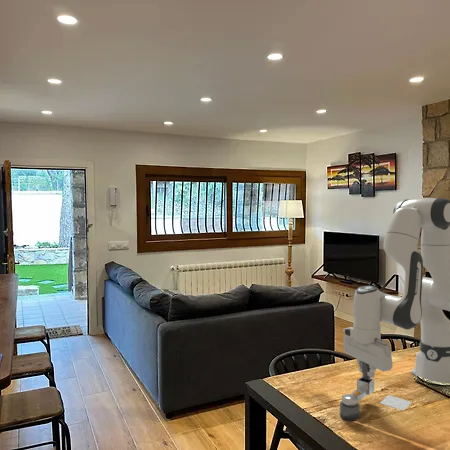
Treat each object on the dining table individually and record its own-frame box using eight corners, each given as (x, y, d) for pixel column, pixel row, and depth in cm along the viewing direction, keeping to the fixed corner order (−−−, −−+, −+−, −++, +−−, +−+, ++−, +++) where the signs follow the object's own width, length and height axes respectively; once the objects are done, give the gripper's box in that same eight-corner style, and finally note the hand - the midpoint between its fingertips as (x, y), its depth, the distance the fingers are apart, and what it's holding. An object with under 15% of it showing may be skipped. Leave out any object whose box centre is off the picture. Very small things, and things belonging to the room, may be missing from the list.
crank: (353, 409, 129) (353, 396, 129) (338, 404, 132) (338, 391, 132) (375, 391, 141) (375, 379, 141) (361, 387, 144) (361, 375, 144)
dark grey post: (364, 385, 143) (364, 356, 142) (371, 387, 141) (371, 358, 140) (361, 387, 141) (361, 358, 140) (368, 389, 139) (368, 360, 139)
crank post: (345, 410, 137) (345, 398, 137) (362, 416, 133) (362, 403, 133) (336, 416, 132) (336, 404, 132) (354, 423, 128) (354, 410, 128)
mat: (388, 396, 146) (388, 395, 146) (412, 403, 141) (412, 401, 141) (379, 404, 140) (379, 403, 140) (403, 412, 135) (403, 410, 135)
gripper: (397, 342, 132) (397, 384, 132) (354, 325, 151) (354, 363, 151) (381, 345, 129) (381, 388, 130) (340, 327, 148) (340, 365, 149)
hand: (366, 374), depth 141 cm, fingers closed on dark grey post, 3 cm apart
